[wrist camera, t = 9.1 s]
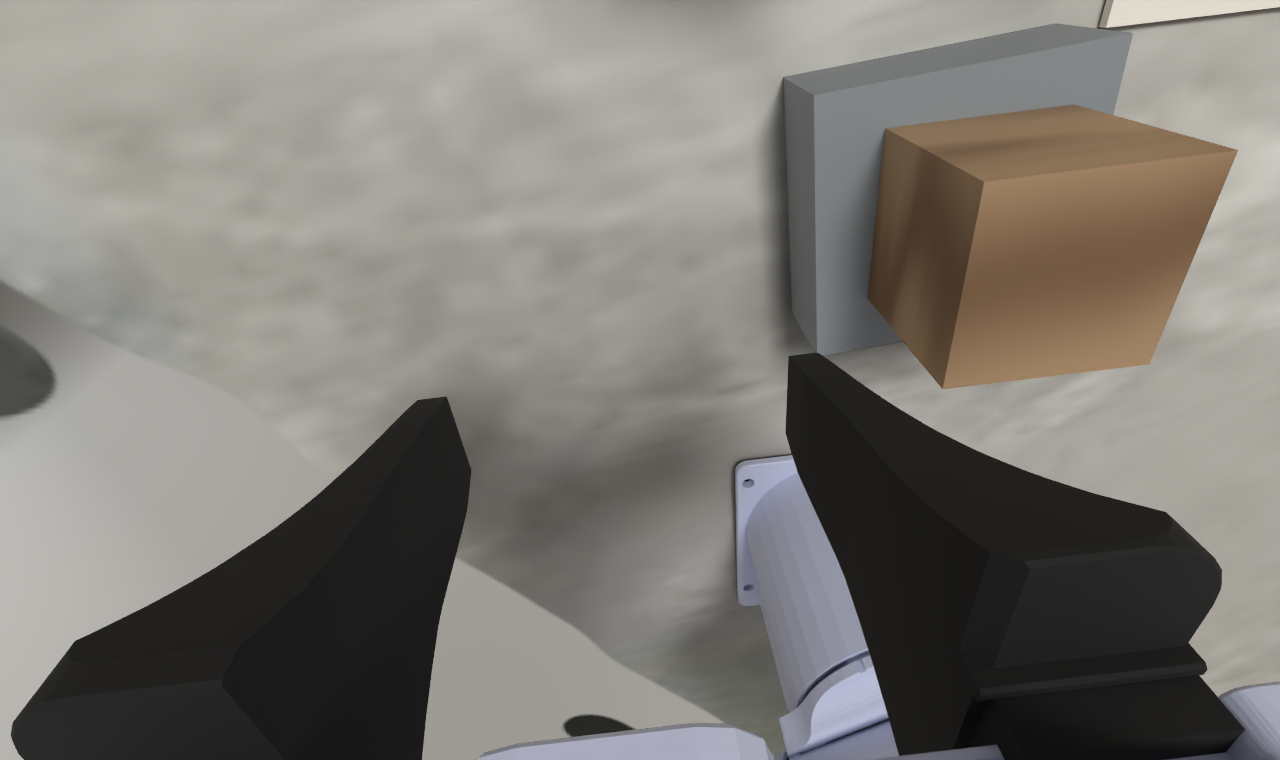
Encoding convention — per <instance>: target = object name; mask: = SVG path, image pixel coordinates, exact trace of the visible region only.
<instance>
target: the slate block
mask: <svg viewBox="0 0 1280 760" xmlns="http://www.w3.org/2000/svg"><path fill="white" fill-rule="evenodd" d="M1132 34H1133V33H1129V32H1120V31H1112V30H1104V29H1096V28H1088V27H1080V26H1072V25H1063V24H1051V25H1046V26H1041V27H1035V28H1030V29H1025V30H1020V31H1015V32H1010V33H1005V34H1000V35H995V36H990V37H985V38H980V39H975V40H970V41H964V42H959V43H954V44H949V45H944V46H939V47H934V48H929V49H924V50H919V51H914V52H909V53H904V54H898V55H893V56H888V57H883V58H878V59H873V60H868V61H863V62H858V63H853V64H848V65H843V66H838V67H833V68H827V69H822V70H817V71H812V72H807V73H802V74H797V75H792V76H787V77H783V87H784V113H785V140H786V166H787V193H788V219H789V246H790V272H791V299H792V314H793V315H794V317H795V319H796V321H797V322H798V324H799V326H800V328H801V329H802V331H803V333H804V335H805V336H806V338H807V340H808V342H809V343H810V345H811V347H812V349H813V350H814V352H815V353H819V354H821V355H822V356H824V355H830V354H836V353H841V352H847V351H853V350H858V349H864V348H870V347H875V346H881V345H887V344H892V343H898V342H903V341H902V340H901V338H900V337H899V336H898V335H897V333H896V332H895V331H894V330H893V329H892V327H891V326H890V325H889V324H888V323H887V321H886V320H885V319H884V318H883V317H882V315H881V314H880V313H879V312H878V311H877V309H876V308H875V307H874V306H873V305H872V303H871V302H870V301H869V300H868V299H867V296H868V286H869V277H870V268H871V258H872V249H873V240H874V231H875V221H876V212H877V203H878V193H879V184H880V175H881V165H882V156H883V147H884V138H885V128H891V127H899V126H907V125H915V124H923V123H931V122H939V121H947V120H955V119H963V118H971V117H979V116H986V115H994V114H1002V113H1010V112H1018V111H1026V110H1034V109H1042V108H1050V107H1058V106H1066V105H1078V106H1082V107H1085V108H1089V109H1092V110H1096V111H1099V112H1103V113H1107V114H1110V115H1113V113H1114V109H1115V104H1116V100H1117V96H1118V92H1119V88H1120V84H1121V80H1122V76H1123V71H1124V67H1125V63H1126V59H1127V55H1128V51H1129V47H1130V43H1131V38H1132Z"/></svg>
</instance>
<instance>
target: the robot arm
mask: <svg viewBox="0 0 1280 760" xmlns="http://www.w3.org/2000/svg"><path fill="white" fill-rule="evenodd" d="M786 436H787V439H788V442H789V446H790V449H791V453H792V455H789V456H781V457H772V458H764V459H755V460H747V461H743V462H741V463H739V464H738V465H737V466H736V469H735V494H736V546H737V596H738V600H739V603H740V604H741V605H743V606H755V605H760V607H761V611H762V615H763V619H764V622H765V626H766V630H767V634H768V638H769V642H770V645H771V649H772V653H773V657H774V661H775V664H776V668H777V672H778V676H779V680H780V684H781V687H782V691H783V695H784V699H785V703H786V706H787V709H788V712H789V713H788V714H786V715H784V716H782V717H780V718H779V724H780V728H781V732H782V736H783V740H784V744H785V748H786V751H784V752H781V753H778V754H777V755H776V756H774V757H773V756H772V754H771V752H770V750H769V748H768V746H767V744H766V743H765V741H764V739H762V738H761V737H759V736H758V735H756V734H754V733H751V732H749V731H746V730H744V729H741V728H739V727H736V726H734V725H731V724H715V723H711V724H710V723H689V724H680V725H672V726H663V727H655V728H646V729H638V730H629V731H621V732H612V733H603V734H595V735H586V736H578V737H569V738H561V739H552V740H544V741H535V742H527V743H519V744H515V745H511V746H507V747H503V748H500V749H496V750H493V751H489V752H485V753H484V754H483V755H481V756H480V757H479V758H478V759H476V760H1280V682H1273V683H1264V684H1256V685H1247V686H1243V687H1239V688H1234V689H1232V690H1230V691H1228V692H1226V693H1223V694H1221V695H1220V696H1219V697H1217V696H1216V695H1215V693H1214V692H1213V691H1212V690H1211V689H1210V688H1209V686H1208V685H1207V684H1206V683H1205V682H1204V681H1203V679H1202V678H1201V677H1200V676H1199V675H1204V673H1205V672H1206V670H1207V666H1206V663H1205V661H1204V660H1203V659H1202V658H1201V657H1200V656H1199V655H1198V653H1197V652H1196V651H1195V650H1194V649H1193V648H1192V647H1191V645H1190V644H1189V643H1188V642H1189V641H1190V639H1191V638H1192V636H1193V635H1194V633H1195V632H1196V630H1197V629H1198V627H1199V626H1200V624H1201V623H1202V621H1203V620H1204V618H1205V617H1206V615H1207V614H1208V612H1209V611H1210V609H1211V608H1212V606H1213V605H1214V602H1215V600H1216V598H1217V596H1218V594H1219V592H1220V589H1221V585H1222V569H1221V568H1220V566H1219V564H1218V563H1217V561H1216V559H1215V558H1214V557H1213V556H1212V555H1211V554H1210V553H1209V552H1208V551H1207V550H1206V549H1205V548H1204V547H1202V546H1201V545H1200V544H1199V543H1198V542H1197V541H1196V540H1195V539H1194V538H1193V537H1192V536H1191V535H1190V534H1189V533H1188V532H1187V531H1186V530H1185V529H1183V528H1182V527H1181V526H1180V525H1179V524H1178V523H1177V522H1176V521H1175V520H1174V519H1173V518H1172V517H1171V516H1169V515H1168V514H1167V513H1166V512H1163V511H1159V510H1155V509H1151V508H1148V507H1144V506H1140V505H1136V504H1132V503H1128V502H1124V501H1120V500H1117V499H1113V498H1109V497H1105V496H1101V495H1097V494H1094V493H1090V492H1087V491H1084V490H1081V489H1078V488H1075V487H1071V486H1068V485H1065V484H1062V483H1059V482H1056V481H1053V480H1050V479H1047V478H1044V477H1041V476H1038V475H1036V474H1033V473H1030V472H1027V471H1025V470H1022V469H1019V468H1017V467H1015V466H1012V465H1010V464H1007V463H1005V462H1002V461H1000V460H997V459H995V458H992V457H990V456H988V455H985V454H983V453H981V452H978V451H976V450H974V449H972V448H970V447H968V446H966V445H964V444H962V443H960V442H958V441H956V440H954V439H952V438H950V437H948V436H945V435H943V434H941V433H940V432H938V431H936V430H934V429H932V428H930V427H929V426H927V425H925V424H923V423H922V422H920V421H918V420H917V419H915V418H913V417H912V416H910V415H908V414H907V413H905V412H903V411H902V410H900V409H898V408H897V407H895V406H894V405H892V404H891V403H889V402H887V401H886V400H884V399H883V398H881V397H880V396H878V395H877V394H876V393H874V392H873V391H871V390H870V389H868V388H867V387H865V386H864V385H863V384H861V383H860V382H858V381H857V380H856V379H854V378H853V377H851V376H850V375H849V374H847V373H846V372H844V371H843V370H842V369H840V368H839V367H838V366H836V365H835V364H833V363H832V362H831V361H829V360H828V359H827V358H825V357H824V356H822V355H821V354H819V353H811V354H802V355H794V356H789V363H788V388H787V413H786ZM470 478H471V468H470V465H469V462H468V459H467V456H466V453H465V450H464V447H463V444H462V441H461V438H460V435H459V432H458V429H457V426H456V423H455V420H454V417H453V414H452V411H451V408H450V405H449V402H448V399H447V397H440V398H431V399H423V400H417V401H416V402H415V403H414V404H413V405H412V406H411V407H410V408H408V409H407V410H406V411H405V412H404V413H403V414H402V415H401V416H400V417H399V418H398V419H397V420H396V421H395V422H394V423H393V424H392V425H391V426H390V427H389V428H388V429H387V430H386V431H385V432H384V433H383V434H382V435H381V436H380V437H379V438H378V439H377V440H376V441H375V442H374V443H373V444H372V445H371V446H370V447H369V448H368V449H367V450H366V451H365V452H364V453H363V454H362V455H361V456H360V457H359V458H358V459H357V460H356V461H355V462H354V463H353V464H352V465H350V466H349V467H348V468H347V469H346V470H345V471H344V472H343V473H342V474H341V475H339V476H338V477H337V478H336V479H335V480H334V481H333V482H332V483H331V484H329V485H328V486H327V487H326V488H325V489H324V490H323V491H322V492H321V493H319V494H318V495H317V496H316V497H315V498H313V499H312V500H311V501H310V502H308V503H307V504H306V505H305V506H304V507H302V508H301V509H300V510H298V511H297V512H296V513H294V514H293V515H292V516H291V517H289V518H288V519H287V520H286V521H284V522H283V523H281V524H280V525H279V526H278V527H276V528H275V529H273V530H272V531H270V532H269V533H268V534H266V535H265V536H263V537H262V538H260V539H259V540H257V541H256V542H254V543H253V544H251V545H250V546H248V547H247V548H245V549H243V550H242V551H240V552H239V553H238V554H236V555H234V556H233V557H231V558H230V559H228V560H227V561H225V562H224V563H222V564H221V565H219V566H217V567H216V568H214V569H212V570H211V571H209V572H207V573H206V574H204V575H202V576H201V577H199V578H197V579H195V580H194V581H192V582H191V583H188V584H187V585H185V586H183V587H181V588H180V589H178V590H176V591H174V592H173V593H171V594H169V595H167V596H165V597H163V598H161V599H160V600H158V601H156V602H154V603H152V604H150V605H148V606H147V607H144V608H142V609H140V610H138V611H136V612H134V613H132V614H130V615H128V616H126V617H124V618H122V619H120V620H118V621H116V622H114V623H112V624H110V625H108V626H106V627H104V628H102V629H100V630H98V631H96V632H94V633H92V634H89V635H87V636H85V637H83V638H81V639H79V640H76V641H75V642H74V643H73V645H72V646H71V647H70V649H69V650H68V651H67V652H66V654H65V655H64V656H63V658H62V659H61V660H60V662H59V663H58V664H57V665H56V667H55V668H54V669H53V671H52V672H51V673H50V675H49V676H48V677H47V679H46V680H45V681H44V682H43V684H42V685H41V686H40V688H39V689H38V690H37V692H36V693H35V694H34V696H33V697H32V698H31V699H30V701H29V702H28V703H27V705H26V706H25V707H24V709H23V710H22V711H21V713H20V714H19V715H18V717H17V718H16V719H15V720H14V722H13V725H12V731H11V737H12V740H13V743H14V745H15V747H16V749H17V751H18V754H19V755H20V756H21V757H22V758H23V759H24V760H422V752H423V742H424V731H425V721H426V713H427V704H428V696H429V688H430V680H431V671H432V664H433V658H434V651H435V644H436V638H437V631H438V624H439V620H440V615H441V610H442V606H443V602H444V598H445V594H446V590H447V586H448V582H449V579H450V575H451V571H452V567H453V564H454V560H455V556H456V552H457V548H458V545H459V541H460V537H461V533H462V529H463V525H464V521H465V517H466V512H467V505H468V497H469V488H470ZM746 479H751V480H750V481H747V482H744V480H746Z"/></svg>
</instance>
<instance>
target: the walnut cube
mask: <svg viewBox="0 0 1280 760" xmlns="http://www.w3.org/2000/svg"><path fill="white" fill-rule="evenodd" d="M1237 152H1238V150H1235V149H1232V148H1228V147H1225V146H1221V145H1218V144H1214V143H1210V142H1207V141H1203V140H1200V139H1196V138H1193V137H1189V136H1185V135H1182V134H1178V133H1175V132H1171V131H1167V130H1164V129H1160V128H1157V127H1153V126H1150V125H1146V124H1142V123H1139V122H1135V121H1132V120H1128V119H1125V118H1121V117H1117V116H1114V115H1110V114H1107V113H1103V112H1099V111H1096V110H1092V109H1089V108H1085V107H1082V106H1078V105H1066V106H1058V107H1050V108H1042V109H1034V110H1026V111H1018V112H1010V113H1002V114H994V115H986V116H979V117H971V118H963V119H955V120H947V121H939V122H931V123H923V124H915V125H907V126H899V127H891V128H885V138H884V147H883V156H882V165H881V175H880V184H879V193H878V203H877V212H876V221H875V231H874V240H873V249H872V258H871V268H870V277H869V286H868V296H867V299H868V300H869V301H870V302H871V303H872V305H873V306H874V307H875V308H876V309H877V311H878V312H879V313H880V314H881V315H882V317H883V318H884V319H885V320H886V321H887V323H888V324H889V325H890V326H891V327H892V329H893V330H894V331H895V332H896V333H897V335H898V336H899V337H900V338H901V340H902V341H903V342H904V343H905V344H906V346H907V347H908V348H909V349H910V350H911V352H912V353H913V354H914V355H915V356H916V358H917V359H918V360H919V361H920V362H921V364H922V365H923V366H924V367H925V368H926V370H927V371H928V372H929V373H930V374H931V376H932V377H933V378H934V379H935V380H936V382H937V383H938V384H939V385H940V387H941V388H942V389H948V388H957V387H965V386H973V385H981V384H989V383H998V382H1006V381H1014V380H1022V379H1030V378H1039V377H1047V376H1055V375H1063V374H1072V373H1080V372H1088V371H1096V370H1104V369H1113V368H1121V367H1129V366H1137V365H1145V364H1150V361H1151V359H1152V356H1153V354H1154V352H1155V349H1156V347H1157V344H1158V342H1159V340H1160V337H1161V335H1162V332H1163V330H1164V328H1165V325H1166V323H1167V320H1168V318H1169V316H1170V313H1171V311H1172V308H1173V306H1174V303H1175V301H1176V299H1177V296H1178V294H1179V291H1180V289H1181V287H1182V284H1183V282H1184V279H1185V277H1186V275H1187V272H1188V270H1189V267H1190V265H1191V262H1192V260H1193V258H1194V255H1195V253H1196V250H1197V248H1198V246H1199V243H1200V241H1201V238H1202V236H1203V234H1204V231H1205V229H1206V226H1207V224H1208V221H1209V219H1210V217H1211V214H1212V212H1213V209H1214V207H1215V205H1216V202H1217V200H1218V197H1219V195H1220V193H1221V190H1222V188H1223V185H1224V183H1225V180H1226V178H1227V176H1228V173H1229V171H1230V168H1231V166H1232V164H1233V161H1234V159H1235V156H1236V154H1237Z"/></svg>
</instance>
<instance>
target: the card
mask: <svg viewBox="0 0 1280 760" xmlns="http://www.w3.org/2000/svg"><path fill="white" fill-rule="evenodd" d="M1276 7H1280V0H1106V3H1105V7H1104V10H1103V14H1102V18H1101V21H1100V25H1099V27H1102V28H1109V27H1118V26H1126V25H1134V24H1143V23H1151V22H1159V21H1168V20H1176V19H1184V18H1193V17H1201V16H1209V15H1218V14H1226V13H1234V12H1243V11H1251V10H1259V9H1268V8H1276Z"/></svg>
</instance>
